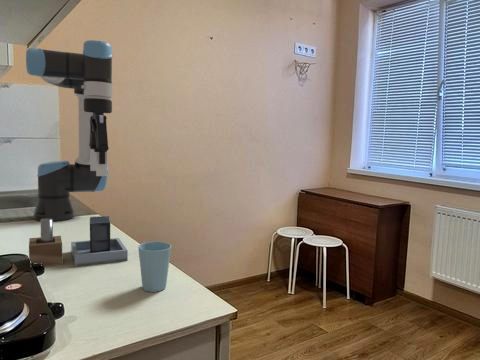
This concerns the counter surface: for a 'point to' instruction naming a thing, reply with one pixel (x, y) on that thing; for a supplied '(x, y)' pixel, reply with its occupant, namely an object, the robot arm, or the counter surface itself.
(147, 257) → the cup
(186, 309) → the counter surface
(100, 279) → the counter surface
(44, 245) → the wooden slotted block
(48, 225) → the pin gauge
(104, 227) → the box
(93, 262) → the tray
